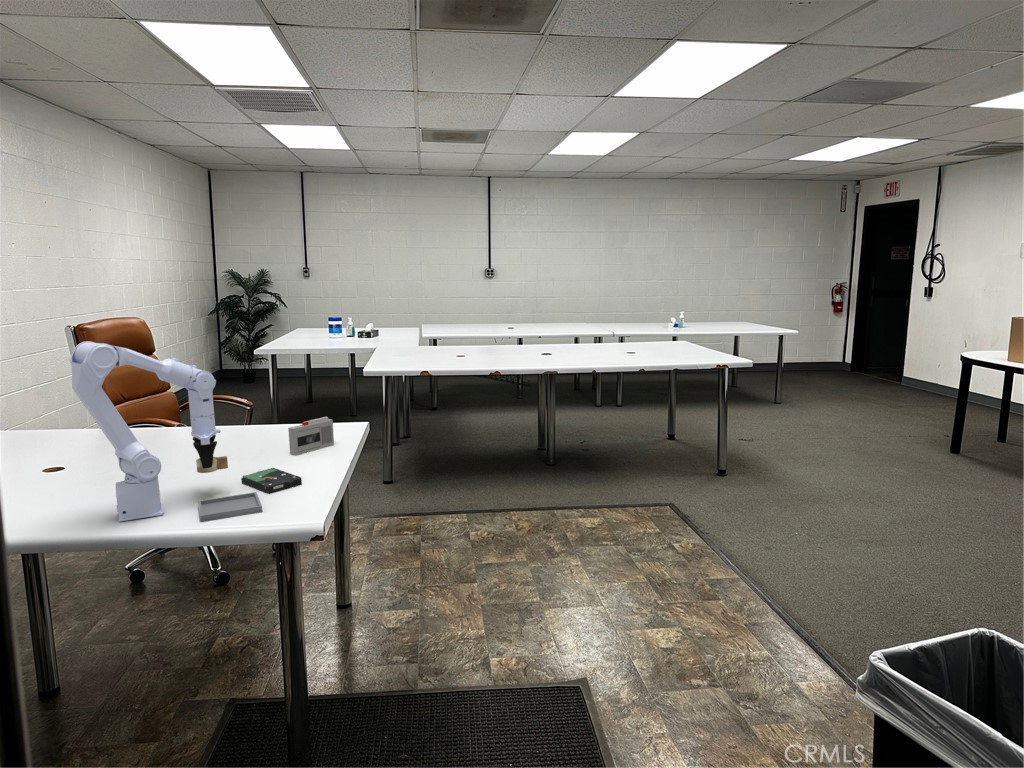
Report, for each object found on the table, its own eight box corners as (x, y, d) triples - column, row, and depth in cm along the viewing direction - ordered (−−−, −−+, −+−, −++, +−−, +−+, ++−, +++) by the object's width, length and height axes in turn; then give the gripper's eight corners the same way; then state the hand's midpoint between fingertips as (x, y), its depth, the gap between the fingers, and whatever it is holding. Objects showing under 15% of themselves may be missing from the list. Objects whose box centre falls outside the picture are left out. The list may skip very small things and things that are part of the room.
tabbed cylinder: (197, 474, 175) (196, 463, 174) (196, 469, 179) (195, 458, 179) (228, 469, 178) (227, 459, 178) (227, 465, 183) (226, 454, 182)
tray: (200, 521, 161) (200, 516, 160) (198, 506, 171) (198, 500, 171) (262, 511, 167) (262, 506, 166) (256, 497, 177) (256, 491, 177)
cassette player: (295, 456, 216) (293, 425, 214) (290, 454, 218) (288, 424, 216) (334, 445, 229) (332, 416, 227) (329, 444, 230) (327, 415, 228)
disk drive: (302, 486, 188) (273, 475, 197) (302, 477, 187) (273, 466, 196) (269, 496, 180) (240, 484, 189) (268, 486, 179) (239, 475, 189)
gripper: (220, 418, 171) (225, 470, 173) (217, 408, 184) (221, 456, 186) (190, 421, 168) (195, 473, 170) (188, 410, 181) (193, 459, 183)
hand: (207, 465), depth 178 cm, fingers closed on tabbed cylinder, 5 cm apart
